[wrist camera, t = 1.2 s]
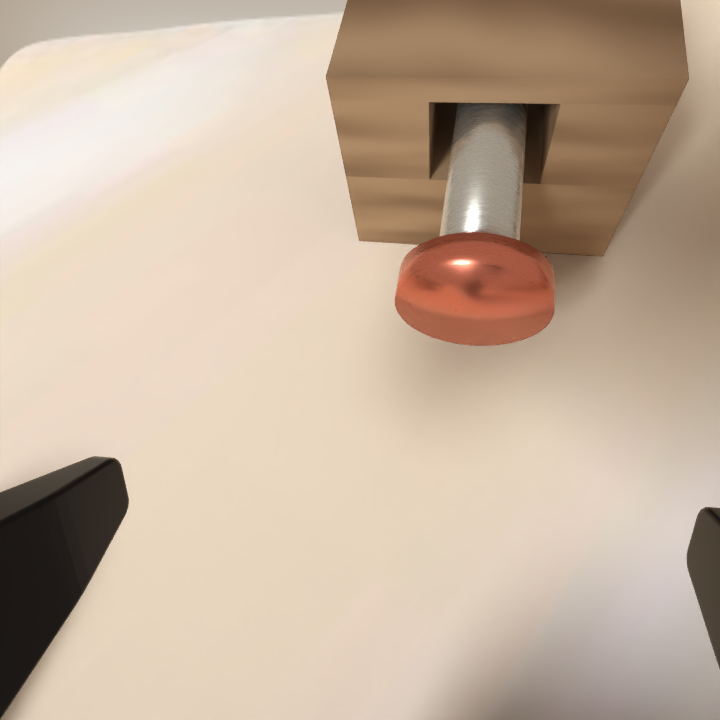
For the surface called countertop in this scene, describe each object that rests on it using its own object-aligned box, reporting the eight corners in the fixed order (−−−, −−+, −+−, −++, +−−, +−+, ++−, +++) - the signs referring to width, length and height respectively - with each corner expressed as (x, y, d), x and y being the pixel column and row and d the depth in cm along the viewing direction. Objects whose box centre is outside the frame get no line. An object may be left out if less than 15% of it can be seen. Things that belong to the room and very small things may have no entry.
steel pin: (538, 351, 20) (571, 272, 15) (399, 338, 21) (389, 259, 16) (549, 59, 26) (575, -61, 21) (443, 59, 27) (445, -56, 22)
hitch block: (602, 256, 25) (689, 78, 17) (359, 240, 28) (325, 77, 19) (600, 134, 29) (672, -67, 20) (382, 129, 31) (363, -55, 22)
